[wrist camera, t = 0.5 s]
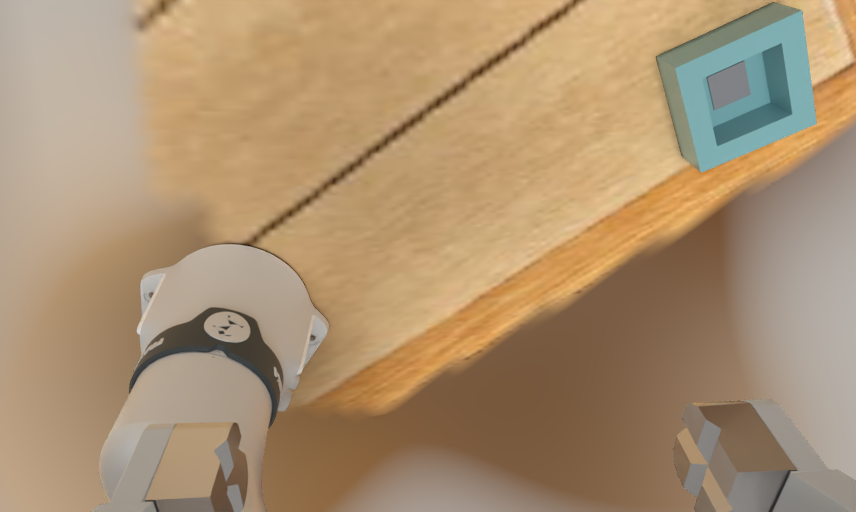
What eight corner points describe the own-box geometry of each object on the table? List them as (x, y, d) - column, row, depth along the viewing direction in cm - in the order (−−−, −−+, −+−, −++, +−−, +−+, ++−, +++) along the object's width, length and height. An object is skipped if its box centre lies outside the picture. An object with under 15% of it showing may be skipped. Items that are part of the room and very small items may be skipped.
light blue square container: (681, 155, 57) (700, 172, 53) (655, 56, 52) (675, 68, 48) (789, 109, 55) (816, 123, 52) (773, 2, 50) (802, 10, 47)
